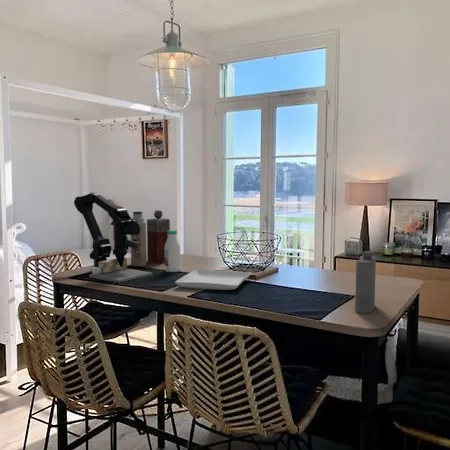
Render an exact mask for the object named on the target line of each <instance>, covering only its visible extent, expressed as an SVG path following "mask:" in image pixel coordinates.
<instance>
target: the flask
mask: <svg viewBox="0 0 450 450" xmlns="http://www.w3.org/2000/svg"><path fill="white" fill-rule="evenodd" d="M361 254H362V255H360V256H359V259H357V261H355V262H356V263H355V265H356V266H355V296H354V297H355V299H354V300H355V301H354V304H355V305H354V311H355V313H357V314H364V315H365V314H369V313H372V312H373V311H374V309H375V304H376V303H375V299H376V298H375V297H376V295H375V294H376V268H377V267H376V265H377V259H376V257H375V256H374V253H373V252H372V251H367V250H366V251H363V252H362V253H361Z"/></svg>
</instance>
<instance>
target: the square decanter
mask: <svg viewBox="0 0 450 450" xmlns="http://www.w3.org/2000/svg"><path fill="white" fill-rule="evenodd" d="M153 216H154V218H148V219H146V253H147V262H148V263H154V264H162V263H164V264H165V244H166V241H167V239H168V234H167V231H169V230H171V220H170V218H162V217H163V211H162V210H158V209H157V210H155V211H154V213H153Z"/></svg>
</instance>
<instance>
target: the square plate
mask: <svg viewBox="0 0 450 450" xmlns="http://www.w3.org/2000/svg"><path fill="white" fill-rule="evenodd" d="M251 274H252V272H250V271H237V270H235V271H233V270H219V269H218V270H215V269H209V270H208V269H195V270H193V271H191V272H189V273H187V274H185V275H184V276H181V278H178V279H177V280H176V281H175V282H174V283H175V284H176V285H177V286H179V287H180V288H181V287H182V288H190V289H200V290H201V289H202V290H216V291H230V290H231V291H232V290H236V289H237V288H238V287H239V286H240V285H241V284H242V283H243V282H244V281H245V280H247V279H248V278H249V277H250V275H251Z"/></svg>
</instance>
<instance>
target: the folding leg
mask: <svg viewBox="0 0 450 450" xmlns="http://www.w3.org/2000/svg"><path fill="white" fill-rule="evenodd" d="M127 258H128V257H124V262H123V267H120V265H119V263H118V261H117V259H116V258H111V259H107V260H106V261H101V262H98V265H99V267H101V273H106V272H111V271H116V270H120V269H125V268H128V266H127V265H128V263H127V261H128V260H127Z"/></svg>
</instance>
